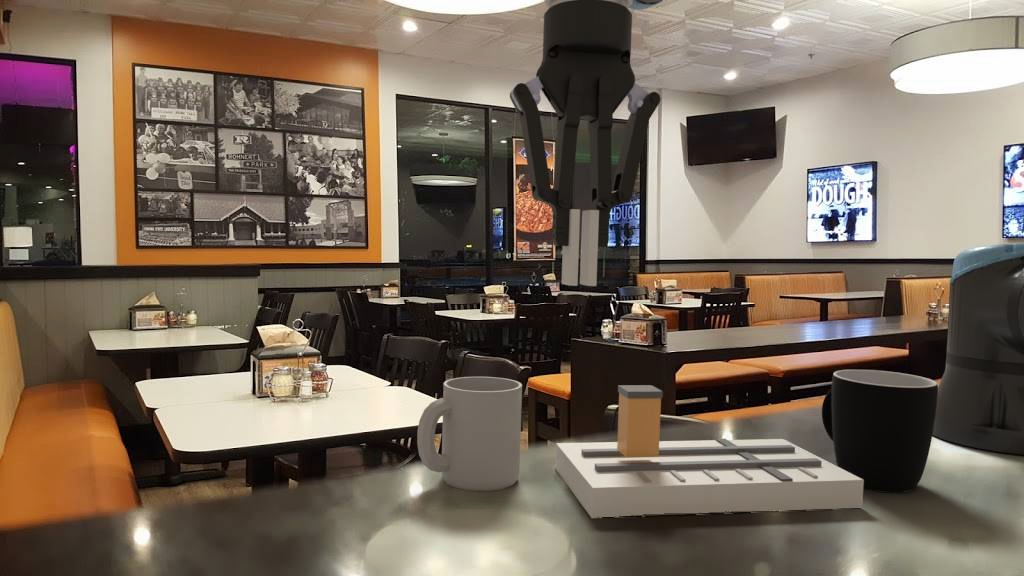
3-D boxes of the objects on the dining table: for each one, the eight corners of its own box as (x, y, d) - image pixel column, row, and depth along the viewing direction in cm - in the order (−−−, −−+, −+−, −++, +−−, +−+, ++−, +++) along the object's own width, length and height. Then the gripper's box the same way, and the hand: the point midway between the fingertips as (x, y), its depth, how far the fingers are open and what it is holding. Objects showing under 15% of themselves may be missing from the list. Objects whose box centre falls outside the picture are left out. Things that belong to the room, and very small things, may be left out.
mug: (954, 494, 67) (961, 385, 67) (876, 502, 65) (883, 388, 64) (856, 456, 79) (861, 363, 78) (786, 462, 76) (791, 365, 75)
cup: (533, 485, 67) (537, 388, 66) (433, 502, 61) (435, 397, 61) (495, 463, 73) (497, 374, 72) (401, 477, 68) (402, 381, 67)
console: (781, 462, 76) (783, 434, 75) (862, 508, 63) (864, 474, 63) (555, 468, 72) (556, 438, 71) (591, 518, 59) (592, 481, 59)
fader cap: (649, 448, 68) (651, 385, 67) (660, 457, 65) (662, 391, 65) (615, 449, 67) (618, 385, 67) (625, 458, 64) (628, 391, 64)
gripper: (650, 28, 67) (640, 283, 69) (500, 16, 65) (493, 280, 67) (682, 2, 60) (670, 289, 62) (514, -13, 58) (506, 286, 59)
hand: (578, 284), depth 64 cm, fingers closed
